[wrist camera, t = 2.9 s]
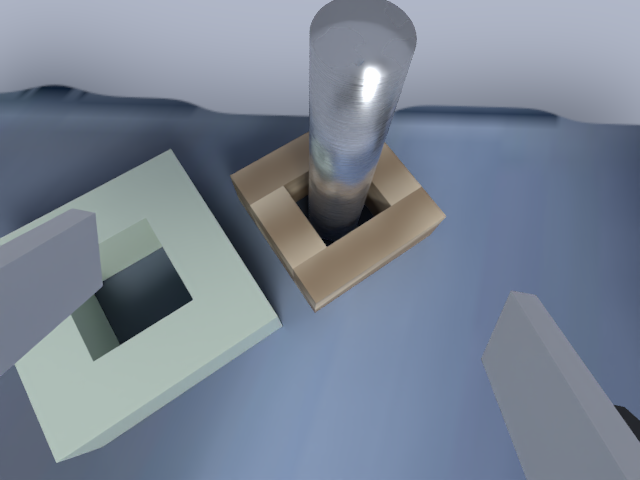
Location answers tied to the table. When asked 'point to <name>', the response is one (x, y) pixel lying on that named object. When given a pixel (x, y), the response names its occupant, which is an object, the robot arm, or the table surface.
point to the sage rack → (159, 339)
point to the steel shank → (352, 104)
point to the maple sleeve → (354, 248)
